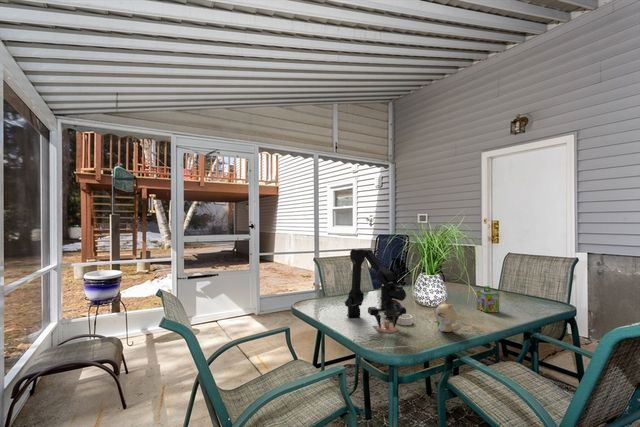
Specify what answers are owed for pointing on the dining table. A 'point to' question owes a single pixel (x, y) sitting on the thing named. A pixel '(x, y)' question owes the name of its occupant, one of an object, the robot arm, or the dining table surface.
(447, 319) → the kitten
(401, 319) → the bowl
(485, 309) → the chalk box
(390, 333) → the mat
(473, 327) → the dining table surface
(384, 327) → the lid
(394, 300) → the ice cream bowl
